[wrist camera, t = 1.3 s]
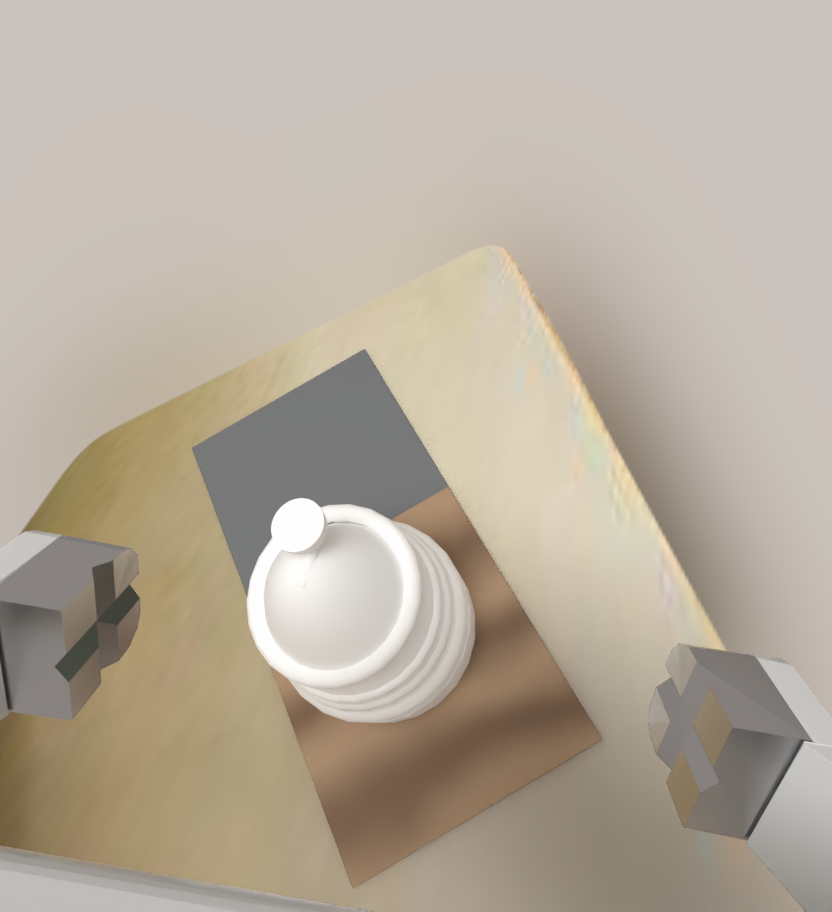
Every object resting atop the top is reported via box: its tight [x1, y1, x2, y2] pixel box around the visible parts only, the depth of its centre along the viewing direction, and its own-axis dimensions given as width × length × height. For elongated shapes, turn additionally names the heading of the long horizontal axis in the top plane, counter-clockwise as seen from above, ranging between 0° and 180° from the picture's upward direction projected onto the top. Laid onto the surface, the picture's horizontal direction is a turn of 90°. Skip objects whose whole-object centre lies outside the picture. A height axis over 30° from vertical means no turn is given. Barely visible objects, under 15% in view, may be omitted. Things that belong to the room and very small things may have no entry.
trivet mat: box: [192, 349, 450, 596], centre depth 49 cm, size 16×18×1 cm
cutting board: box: [271, 487, 602, 888], centre depth 41 cm, size 20×18×1 cm
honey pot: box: [247, 498, 475, 723], centre depth 34 cm, size 13×13×18 cm
